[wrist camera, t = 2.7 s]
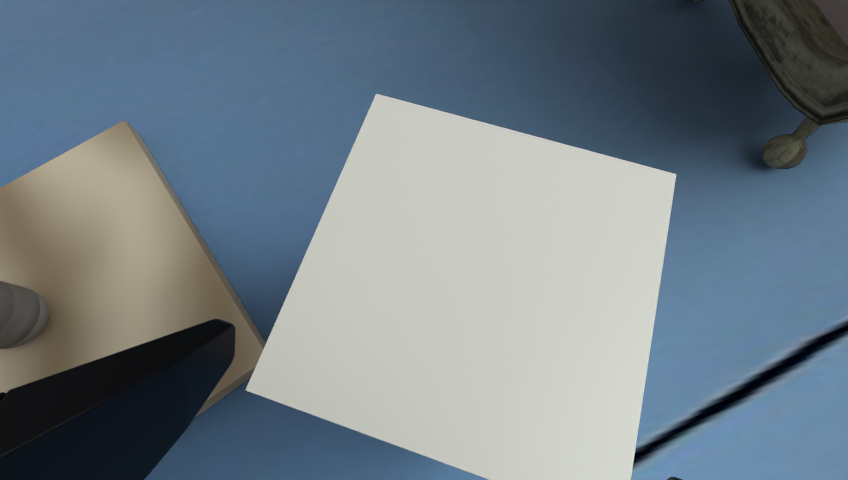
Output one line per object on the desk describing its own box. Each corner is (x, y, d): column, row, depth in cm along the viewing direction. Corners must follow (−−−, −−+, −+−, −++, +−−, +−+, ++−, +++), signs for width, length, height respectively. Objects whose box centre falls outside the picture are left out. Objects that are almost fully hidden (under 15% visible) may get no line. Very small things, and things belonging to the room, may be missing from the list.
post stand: (-65, 603, 16) (-249, 679, 11) (-155, 294, 19) (-318, 265, 15) (276, 359, 18) (230, 348, 14) (137, 131, 22) (68, 69, 18)
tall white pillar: (494, 441, 17) (622, 528, 6) (361, 394, 18) (245, 390, 6) (528, 307, 19) (675, 174, 8) (406, 268, 20) (376, 93, 8)
